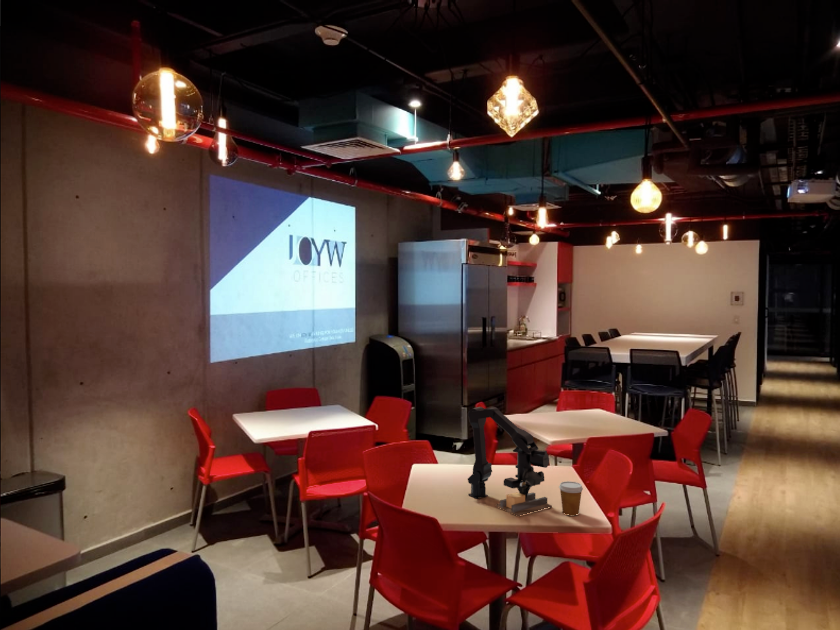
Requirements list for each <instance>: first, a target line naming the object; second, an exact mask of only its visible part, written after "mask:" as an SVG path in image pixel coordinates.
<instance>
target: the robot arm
mask: <svg viewBox="0 0 840 630" xmlns="http://www.w3.org/2000/svg"><path fill="white" fill-rule="evenodd" d="M467 417H468V421H469V424H470V426H471V428H472V433H473V446H474V458H475V460H474V463H473V467H472V474H471V475H470V476H469V477H468V478H467V482H468V484H470V493H467V494H468V496H470V497H472V498H474V499H482V498H487V497H488V496H489V495H488V494H487V491H486V490H487V488H486V482H488V481H489V478H490V477H491V476H492V473H493V470H492V469H493V468H492V462H488V459H487V451H486V439H485V437H486V436H485V424H486V421H487V418H491V419H492V420H493V421H494V422H495V423H496V424H497V425H498V426H500V427H501V428H502V429H503V430H504V431H505V432H506V433H507V434H508V435H509V436H510V438H511V441H512V442H513V443H514V444H515V448H514V449H512V452H513V453H516V454H517V464H515V469H517V471H516V472H517V473H516V474H515V475H514V476H515V477H507V478H504V479H503V486H504V487H507V488H510V489H517V490H518V493H520V494H523V495H525V500H526V498H527V495H528V493H529V492H530V490H531V488H532V487H535V486H539V485H541V483H543V482H545V473H544V472H543V471H542V470H541V471H535V470H534V469H535V468H534V466H535V467H539V468H543V469H545V468H548V467H549V464H550V456H549V454H548V451H547V450H542V449H541V450H540V449H539V447H538V445H537V443H536V442H535V440H534V437H533V435H532V434H531V433H530V432H529V431H526V430H525V429H522V428H520V427H518V426H517V424H514V423H513V422H512V420H511V419H509V418H508V417H507V415H505V414H504V413H502V411H500V409H499V408H498V407H486V408H484V407H483V406H478V407H474V408H471V409H469V410H468V413H467Z"/></svg>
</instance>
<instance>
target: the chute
mask: <svg viewBox="0 0 840 630" xmlns="http://www.w3.org/2000/svg"><path fill="white" fill-rule="evenodd" d="M495 507H496V508H498V507H499V508H498V509H500V508H501V509H500V510H502V509H504V510H506V511H505V512H507V511H508V512H507V513H509V512H510V513H509V514H511V513H513V514H515V515H514V516H516V515H517V516H516V517H518V516H519V517H521V516H520V515H523V514H527V513H530V512H534V511H538V510H541V509H544V508H548V507H552V508H553V505H552V504H549V503H548V497H547V496H543V497H539V498H536V492H530V493H529V492H528V495H527V498H526V500H525V502H522V503H518V504H514V505H511V508H509V507H506V498H504V499H501V500H499V503H496V504H495ZM504 510H503V511H504ZM538 512H539V511H538ZM534 513H535V512H534ZM513 514H512V515H513ZM527 515H528V514H527ZM523 516H524V515H523Z"/></svg>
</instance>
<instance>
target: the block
mask: <svg viewBox="0 0 840 630" xmlns="http://www.w3.org/2000/svg"><path fill="white" fill-rule="evenodd" d="M505 499H506V507H509V508H511V505H514V504H518V503H522V502H525V495H523V494H520V493H519V491H518V492H512V493H507V494H506V495H505Z"/></svg>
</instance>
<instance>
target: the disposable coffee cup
mask: <svg viewBox="0 0 840 630" xmlns="http://www.w3.org/2000/svg"><path fill="white" fill-rule="evenodd" d="M558 488H559V490H560V500H561V508H562V514H563V513H565V514H569V515H576V514H578V513H579V514H580V504H581V498H582V493H583V490H584V487H583V485H582V483H580V482H576V481H570V480H569V481H568V480H567V481H562V482H560V484H559V486H558ZM565 514H564V515H565Z"/></svg>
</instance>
